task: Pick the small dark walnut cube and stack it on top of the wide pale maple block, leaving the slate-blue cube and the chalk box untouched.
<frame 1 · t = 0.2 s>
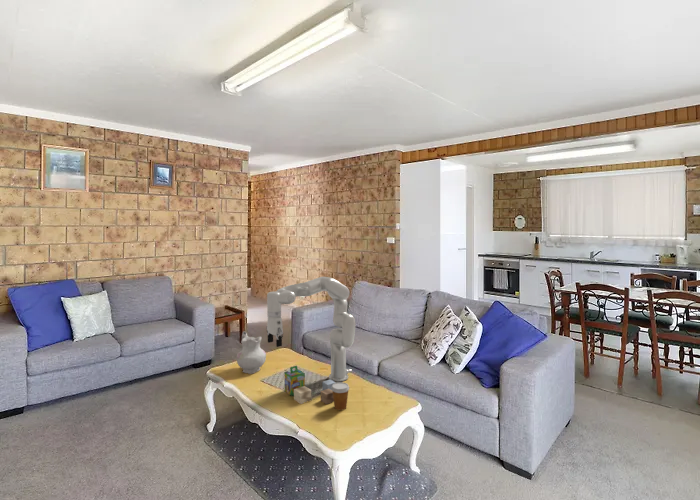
hand: (274, 344, 214), 31 cm above the table, fingers open, 9 cm apart
chalk box: (294, 392, 224), on the table
maple block: (302, 400, 213), on the table
ceramic pitcher: (250, 370, 258), on the table
walnut block: (327, 401, 212), on the table
slate-blue block: (328, 391, 225), on the table
disposable coffee cup: (340, 407, 204), on the table
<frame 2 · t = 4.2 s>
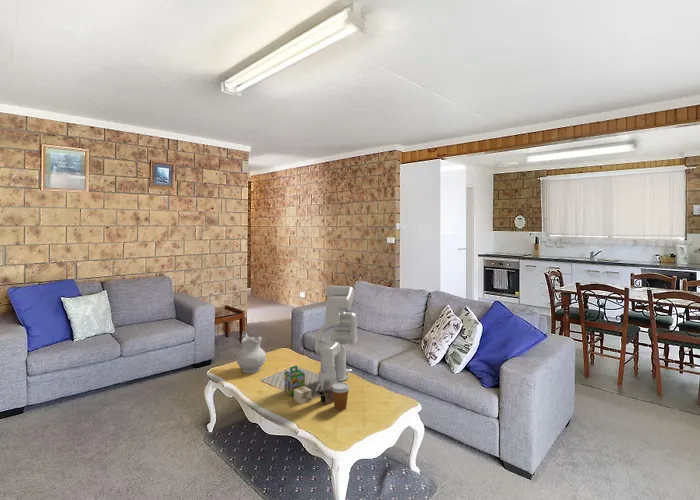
hand: (327, 400, 212), 1 cm above the table, fingers closed on walnut block, 5 cm apart
walnut block: (327, 401, 212), on the table, touching gripper
everything else where it was.
when the fingers open (8 cm above the table, at t = 9.0 s): walnut block drops 1 cm, resting on maple block.
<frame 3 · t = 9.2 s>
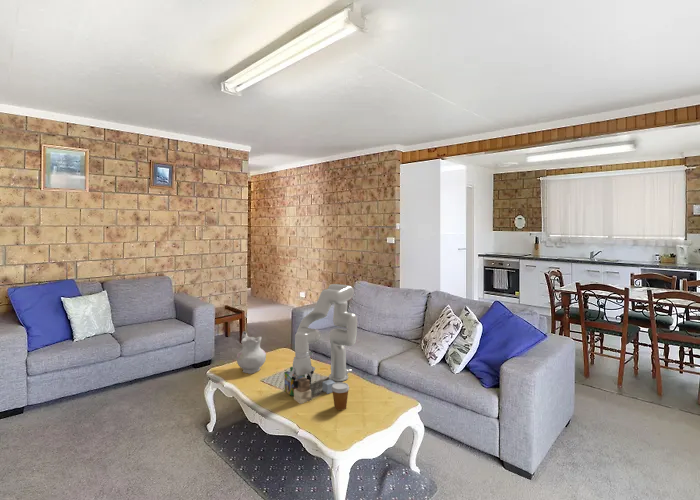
hand: (302, 385, 213), 8 cm above the table, fingers open, 7 cm apart
maple block: (302, 400, 213), on the table, touching walnut block
walnut block: (302, 389, 213), point 6 cm above the table, touching maple block
everything else where it was.
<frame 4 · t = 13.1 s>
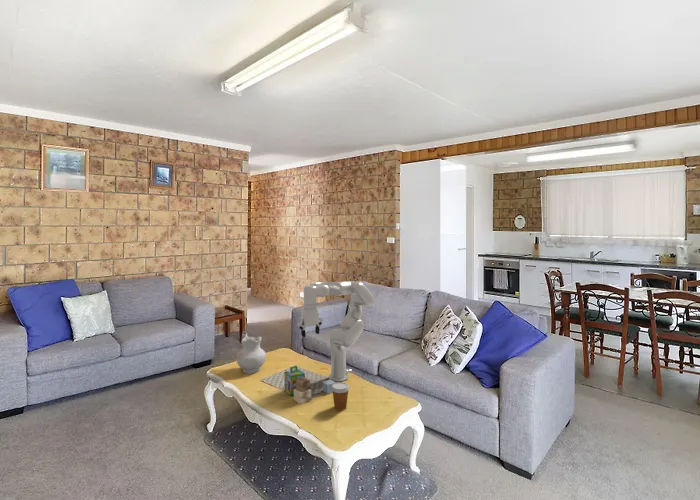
hand: (310, 335, 227), 32 cm above the table, fingers open, 9 cm apart
nothing on the table moved.
at the end: walnut block 0.3 cm from the maple block (horizontally); walnut block point 5.8 cm above the table; walnut block tilted 0° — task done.
